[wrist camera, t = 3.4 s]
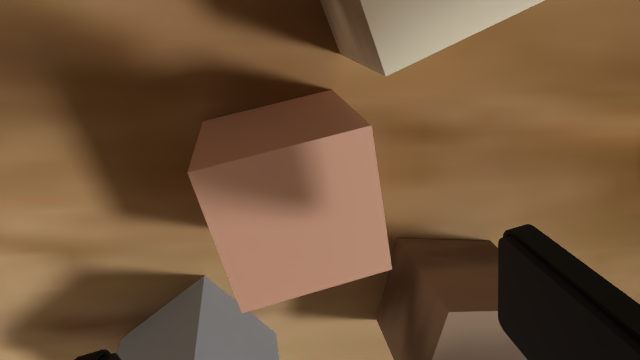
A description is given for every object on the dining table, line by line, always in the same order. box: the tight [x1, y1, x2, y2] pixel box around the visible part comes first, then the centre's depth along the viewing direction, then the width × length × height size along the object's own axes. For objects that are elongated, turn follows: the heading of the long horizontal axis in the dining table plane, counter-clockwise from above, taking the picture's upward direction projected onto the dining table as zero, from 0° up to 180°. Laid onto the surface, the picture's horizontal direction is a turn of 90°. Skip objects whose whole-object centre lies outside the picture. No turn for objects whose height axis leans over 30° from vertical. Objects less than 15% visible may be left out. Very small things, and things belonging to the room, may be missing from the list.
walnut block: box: [377, 238, 527, 360], centre depth 21 cm, size 6×6×6 cm
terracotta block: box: [187, 90, 392, 313], centre depth 16 cm, size 6×6×6 cm
